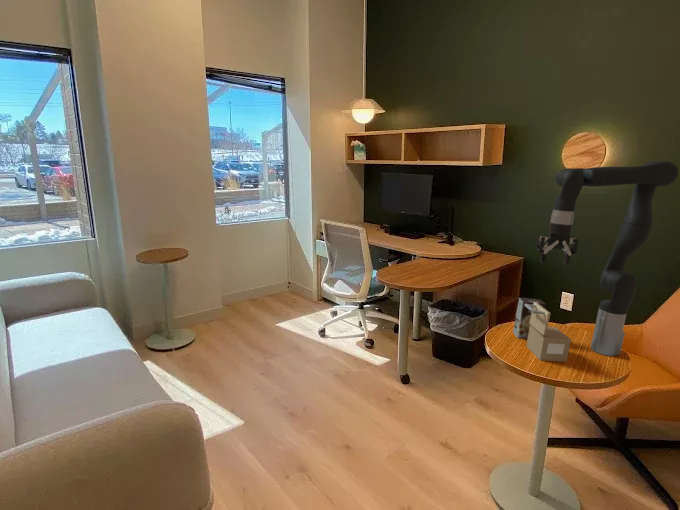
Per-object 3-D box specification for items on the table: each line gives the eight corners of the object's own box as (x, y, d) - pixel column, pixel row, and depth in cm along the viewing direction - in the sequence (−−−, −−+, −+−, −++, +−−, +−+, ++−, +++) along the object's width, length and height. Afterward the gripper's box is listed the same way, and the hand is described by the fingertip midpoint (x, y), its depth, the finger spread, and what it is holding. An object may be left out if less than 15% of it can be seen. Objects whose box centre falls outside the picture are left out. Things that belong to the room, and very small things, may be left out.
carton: (551, 347, 167) (555, 326, 165) (566, 362, 155) (571, 339, 153) (526, 346, 167) (530, 325, 165) (539, 360, 155) (544, 338, 153)
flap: (536, 302, 162) (522, 300, 162) (551, 313, 151) (536, 311, 151) (531, 324, 165) (517, 323, 165) (545, 337, 153) (530, 335, 153)
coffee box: (517, 338, 174) (523, 302, 170) (512, 332, 180) (518, 297, 176) (539, 340, 173) (546, 304, 169) (534, 334, 179) (540, 299, 175)
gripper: (575, 222, 161) (567, 262, 164) (538, 219, 161) (531, 260, 164) (585, 225, 153) (577, 267, 157) (547, 222, 153) (539, 265, 157)
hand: (553, 263), depth 161 cm, fingers open, 8 cm apart
